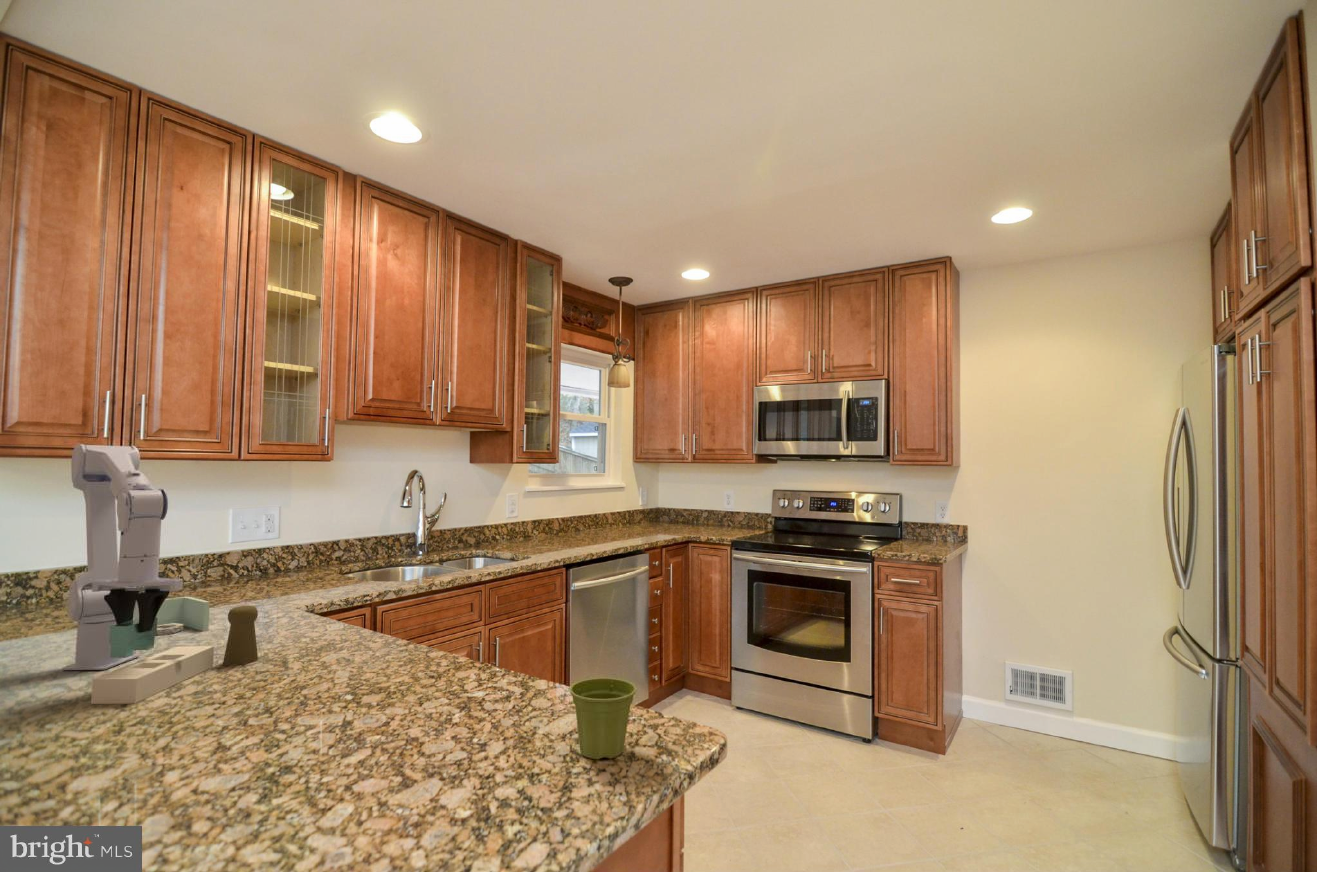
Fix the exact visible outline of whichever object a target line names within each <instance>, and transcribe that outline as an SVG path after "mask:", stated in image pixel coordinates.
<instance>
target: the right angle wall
mask: <svg viewBox="0 0 1317 872" xmlns="http://www.w3.org/2000/svg"><path fill="white" fill-rule="evenodd" d="M210 603H211V601H207V600H204V599H201V598H196V597H191V596H188V595H187V596H182V597H181V596H180V597H173V598H166V599H165V600H164V602H163V604H162V605H161V607H160V609H159V611H158V613H157V616H156V618H157V634H155V636H166V635H167V636H169V635H171V634H176V633H179V632H181V631H184V630H183V629H184V627H186V628H187V627H188V628H191V629H194V630H196V631H197V630H198V631H200V632H201V631H202V632H207V631H209V628H210V627H209V626H210V625H209V624H210V606H211V604H210ZM133 618H134V619H138V618H139V609H138V604H137V606H136V609H135V610H134V613H133Z"/></svg>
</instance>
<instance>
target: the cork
mask: <svg viewBox="0 0 1317 872" xmlns="http://www.w3.org/2000/svg"><path fill="white" fill-rule="evenodd" d="M258 615H259V611H258V608H257V607H256V606H253V605H239V606H235V607H233V608H231V609H230V610H229V611H228V614H227V620H228V622H229V625H230V626H229V630H228V636H227V641H226V646H225V651H224V657H223V661H222V664H223V665H225V666H240V665H246V664H252V663H253V662H254V663H255V662H256V661H258V660H259V655H258V646H257V645H258V644H257V635H256V627H255V626H256V625H255V624H256V623H255V621H256V620H257V619H258Z"/></svg>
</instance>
